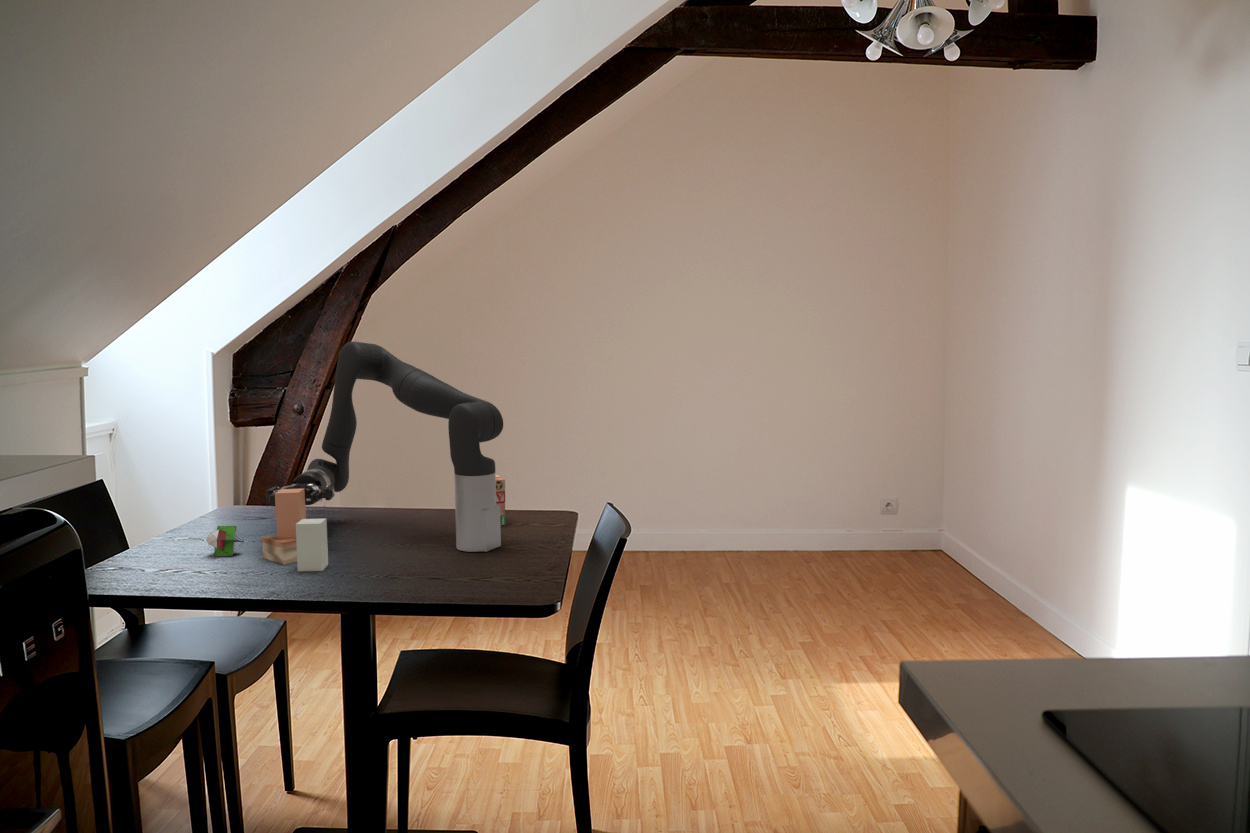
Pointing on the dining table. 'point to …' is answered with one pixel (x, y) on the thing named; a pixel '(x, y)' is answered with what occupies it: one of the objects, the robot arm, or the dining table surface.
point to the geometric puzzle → (223, 540)
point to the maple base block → (279, 549)
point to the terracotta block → (289, 511)
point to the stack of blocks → (501, 498)
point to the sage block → (312, 544)
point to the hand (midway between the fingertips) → (292, 499)
